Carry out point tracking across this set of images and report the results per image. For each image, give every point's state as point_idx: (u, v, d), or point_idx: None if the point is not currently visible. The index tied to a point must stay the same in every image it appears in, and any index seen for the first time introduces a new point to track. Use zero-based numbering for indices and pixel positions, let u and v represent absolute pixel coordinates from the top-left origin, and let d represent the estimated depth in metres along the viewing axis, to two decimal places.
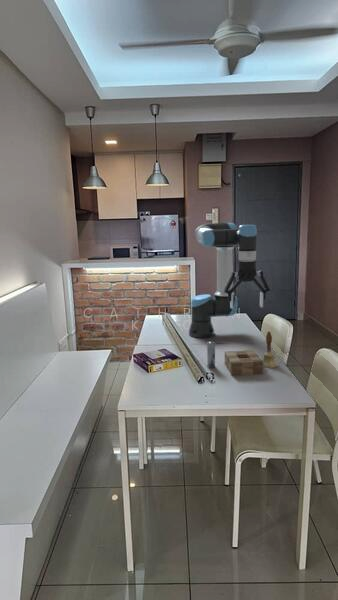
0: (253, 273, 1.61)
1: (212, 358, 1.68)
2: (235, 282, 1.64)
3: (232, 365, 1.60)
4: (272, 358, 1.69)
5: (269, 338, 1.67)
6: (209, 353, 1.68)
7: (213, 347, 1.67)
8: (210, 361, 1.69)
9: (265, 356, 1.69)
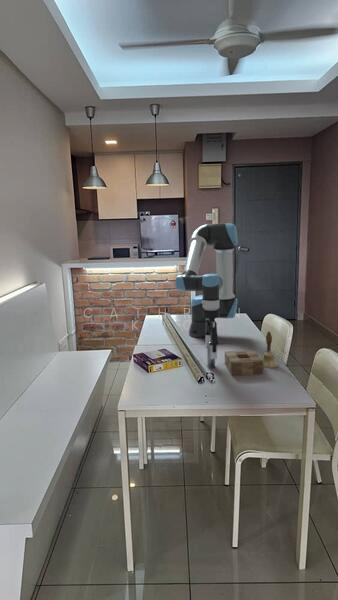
0: (209, 322, 1.63)
1: None
2: None
3: (232, 365, 1.60)
4: (272, 358, 1.69)
5: (269, 338, 1.67)
6: (209, 353, 1.68)
7: None
8: (210, 361, 1.69)
9: (265, 356, 1.69)
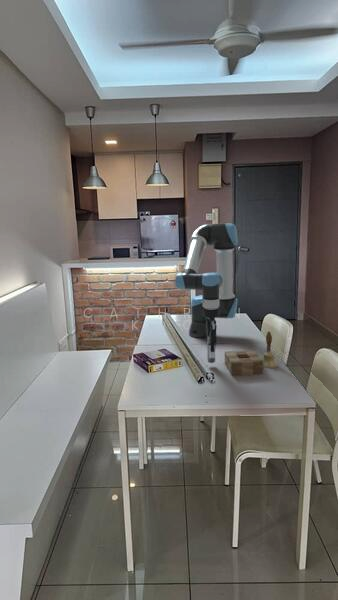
0: (209, 320, 1.63)
1: None
2: None
3: (232, 365, 1.60)
4: (272, 358, 1.69)
5: (269, 338, 1.67)
6: None
7: None
8: None
9: (265, 356, 1.69)
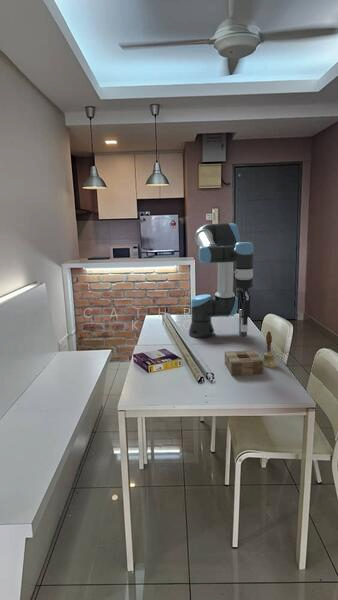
0: (242, 292, 1.57)
1: None
2: None
3: (232, 365, 1.60)
4: (272, 358, 1.69)
5: (269, 338, 1.67)
6: None
7: None
8: None
9: (265, 356, 1.69)
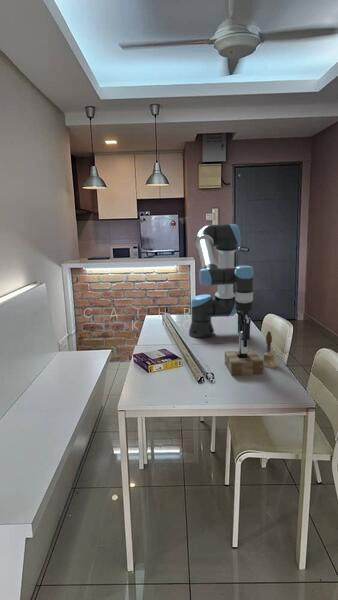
0: (243, 314, 1.59)
1: None
2: None
3: (232, 365, 1.60)
4: (272, 358, 1.69)
5: (269, 338, 1.67)
6: (241, 343, 1.63)
7: None
8: None
9: (265, 356, 1.69)
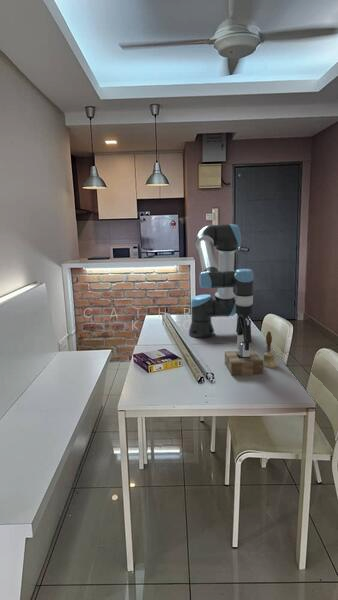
0: (242, 318, 1.60)
1: None
2: None
3: (232, 365, 1.60)
4: (272, 358, 1.69)
5: (269, 338, 1.67)
6: (241, 354, 1.65)
7: None
8: None
9: (265, 356, 1.69)
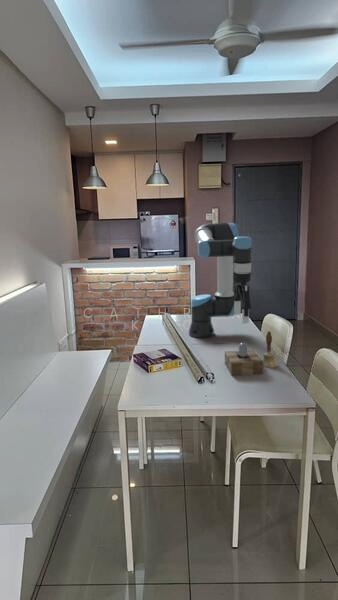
0: (240, 286, 1.59)
1: None
2: None
3: (232, 365, 1.60)
4: (272, 358, 1.69)
5: (269, 338, 1.67)
6: (241, 354, 1.65)
7: (245, 348, 1.64)
8: None
9: (265, 356, 1.69)
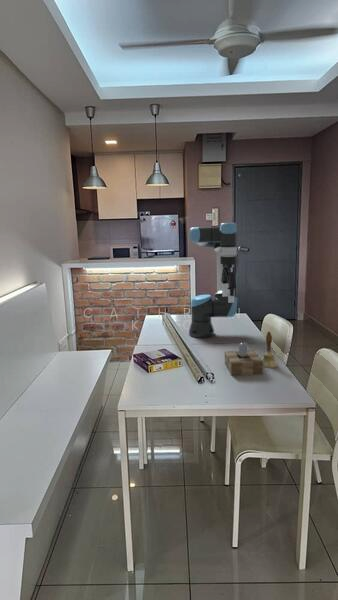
0: (227, 268, 1.73)
1: None
2: None
3: (232, 365, 1.60)
4: (272, 358, 1.69)
5: (269, 338, 1.67)
6: (241, 354, 1.65)
7: (245, 348, 1.64)
8: None
9: (265, 356, 1.69)
